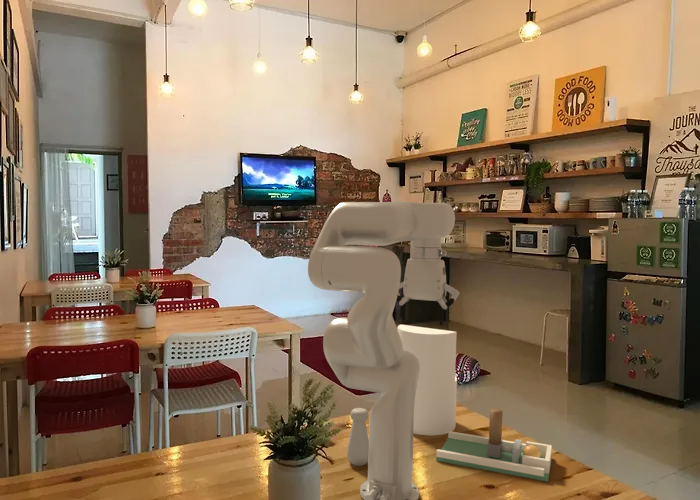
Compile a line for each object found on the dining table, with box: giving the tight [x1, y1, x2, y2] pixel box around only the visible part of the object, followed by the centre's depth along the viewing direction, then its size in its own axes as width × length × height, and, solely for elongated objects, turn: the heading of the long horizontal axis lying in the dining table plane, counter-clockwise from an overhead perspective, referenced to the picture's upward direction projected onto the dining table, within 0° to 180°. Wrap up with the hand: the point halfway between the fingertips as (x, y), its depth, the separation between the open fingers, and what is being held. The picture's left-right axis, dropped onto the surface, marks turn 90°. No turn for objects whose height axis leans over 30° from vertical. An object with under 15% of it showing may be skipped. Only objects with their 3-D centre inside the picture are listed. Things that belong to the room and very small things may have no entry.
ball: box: [523, 445, 540, 458], centre depth 137 cm, size 4×4×4 cm
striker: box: [487, 408, 523, 463], centre depth 139 cm, size 6×8×11 cm
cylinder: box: [397, 324, 458, 436], centre depth 163 cm, size 17×17×28 cm
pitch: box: [435, 431, 553, 483], centre depth 140 cm, size 14×26×4 cm, turn 67°
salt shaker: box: [346, 407, 369, 467], centre depth 137 cm, size 6×6×13 cm
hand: (423, 322), depth 141 cm, fingers open, 9 cm apart
